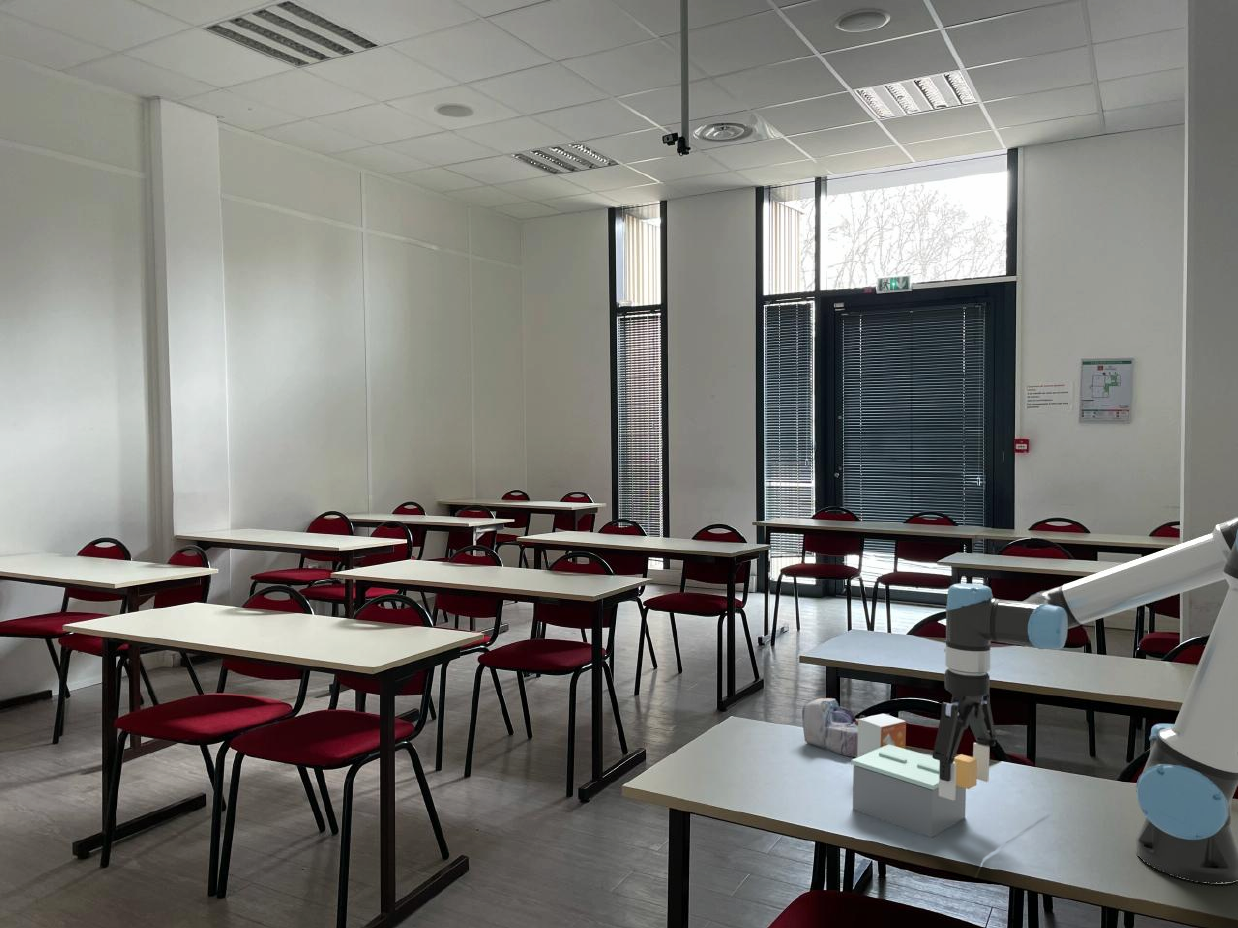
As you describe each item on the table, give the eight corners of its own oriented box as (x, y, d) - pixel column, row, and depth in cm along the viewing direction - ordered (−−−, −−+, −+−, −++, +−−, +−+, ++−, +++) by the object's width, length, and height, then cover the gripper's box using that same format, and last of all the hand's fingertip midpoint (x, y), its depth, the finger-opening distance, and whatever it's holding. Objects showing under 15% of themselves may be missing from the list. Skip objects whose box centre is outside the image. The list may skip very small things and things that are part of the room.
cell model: (815, 689, 212) (897, 704, 202) (813, 732, 213) (895, 750, 202) (796, 701, 201) (882, 718, 191) (794, 747, 202) (880, 767, 191)
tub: (965, 820, 163) (966, 773, 163) (931, 840, 154) (932, 790, 154) (888, 794, 175) (889, 750, 174) (852, 812, 166) (853, 765, 166)
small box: (879, 789, 177) (881, 726, 177) (855, 779, 182) (857, 718, 182) (905, 781, 182) (906, 720, 181) (881, 772, 187) (882, 712, 187)
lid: (989, 777, 160) (990, 751, 160) (954, 796, 150) (955, 769, 150) (888, 748, 175) (889, 724, 175) (851, 763, 166) (851, 739, 166)
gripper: (977, 656, 167) (974, 766, 167) (913, 677, 150) (910, 799, 151) (1017, 663, 161) (1014, 777, 162) (955, 686, 145) (951, 813, 145)
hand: (964, 788), depth 156 cm, fingers open, 12 cm apart
